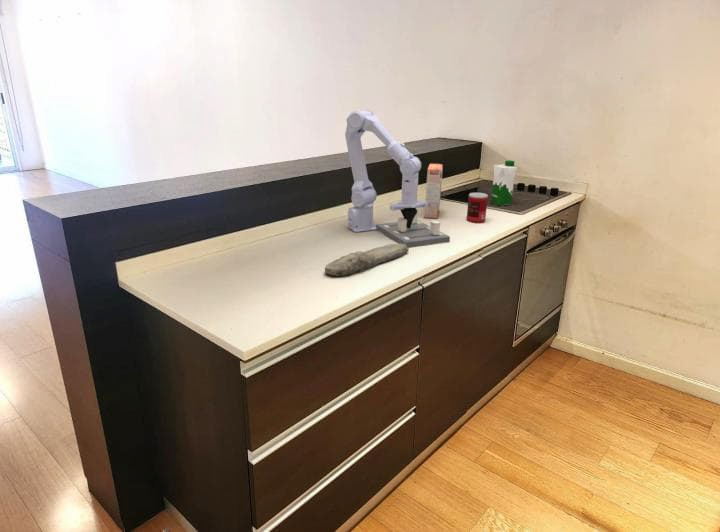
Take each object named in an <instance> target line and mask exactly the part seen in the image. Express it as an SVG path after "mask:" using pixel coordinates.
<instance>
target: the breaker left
mask: <svg viewBox="0 0 720 532" xmlns="http://www.w3.org/2000/svg"><path fill="white" fill-rule="evenodd" d="M418 214H419V211H417V213H416V215H415V217H414V219H413V221H412V224H414V223H417V220H418Z"/></svg>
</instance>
